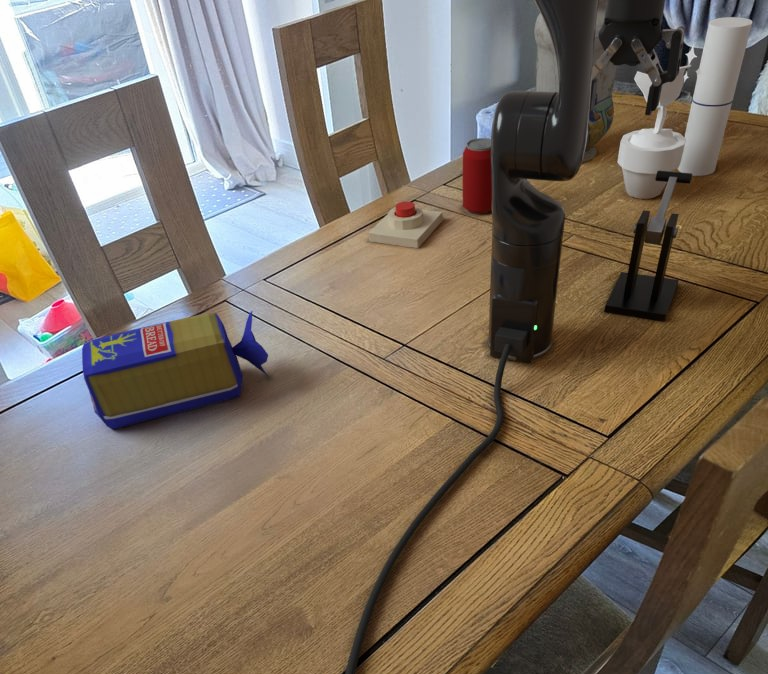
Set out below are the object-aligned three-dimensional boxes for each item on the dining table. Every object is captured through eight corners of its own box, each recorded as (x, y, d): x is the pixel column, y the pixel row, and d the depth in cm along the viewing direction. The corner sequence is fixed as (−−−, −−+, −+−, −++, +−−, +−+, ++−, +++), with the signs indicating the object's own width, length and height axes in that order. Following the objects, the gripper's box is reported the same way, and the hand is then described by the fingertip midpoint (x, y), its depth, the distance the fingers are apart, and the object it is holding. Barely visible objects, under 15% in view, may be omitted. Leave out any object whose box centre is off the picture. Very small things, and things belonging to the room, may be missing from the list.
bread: (100, 397, 103) (72, 336, 95) (264, 357, 106) (249, 295, 99) (102, 438, 96) (72, 376, 88) (277, 394, 100) (262, 330, 92)
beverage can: (496, 200, 139) (499, 135, 130) (497, 215, 134) (499, 149, 125) (462, 201, 140) (463, 137, 131) (462, 216, 135) (462, 150, 126)
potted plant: (687, 196, 133) (723, 43, 115) (636, 210, 131) (664, 56, 113) (646, 175, 141) (674, 29, 123) (597, 188, 139) (618, 40, 121)
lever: (656, 179, 107) (658, 165, 105) (690, 182, 105) (693, 168, 103) (634, 241, 103) (636, 229, 101) (669, 246, 101) (672, 233, 99)
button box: (417, 248, 127) (417, 229, 125) (369, 241, 131) (367, 223, 128) (442, 220, 134) (442, 202, 132) (396, 214, 138) (394, 196, 135)
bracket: (620, 278, 114) (634, 199, 105) (677, 286, 111) (697, 206, 102) (604, 312, 108) (617, 231, 98) (664, 321, 104) (684, 239, 95)
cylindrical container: (677, 175, 140) (709, 27, 122) (677, 161, 145) (708, 17, 127) (715, 176, 138) (753, 26, 120) (714, 162, 143) (751, 16, 125)
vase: (622, 145, 153) (648, -24, 132) (592, 175, 144) (616, -3, 122) (545, 135, 161) (558, -26, 139) (512, 163, 151) (521, -6, 129)
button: (410, 220, 129) (409, 210, 127) (392, 217, 130) (392, 208, 129) (418, 211, 131) (417, 202, 129) (400, 209, 132) (400, 200, 131)
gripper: (577, -20, 91) (563, 116, 102) (691, -20, 86) (663, 123, 97) (592, -32, 95) (578, 100, 107) (702, -33, 90) (674, 106, 102)
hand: (619, 111), depth 102 cm, fingers open, 8 cm apart
